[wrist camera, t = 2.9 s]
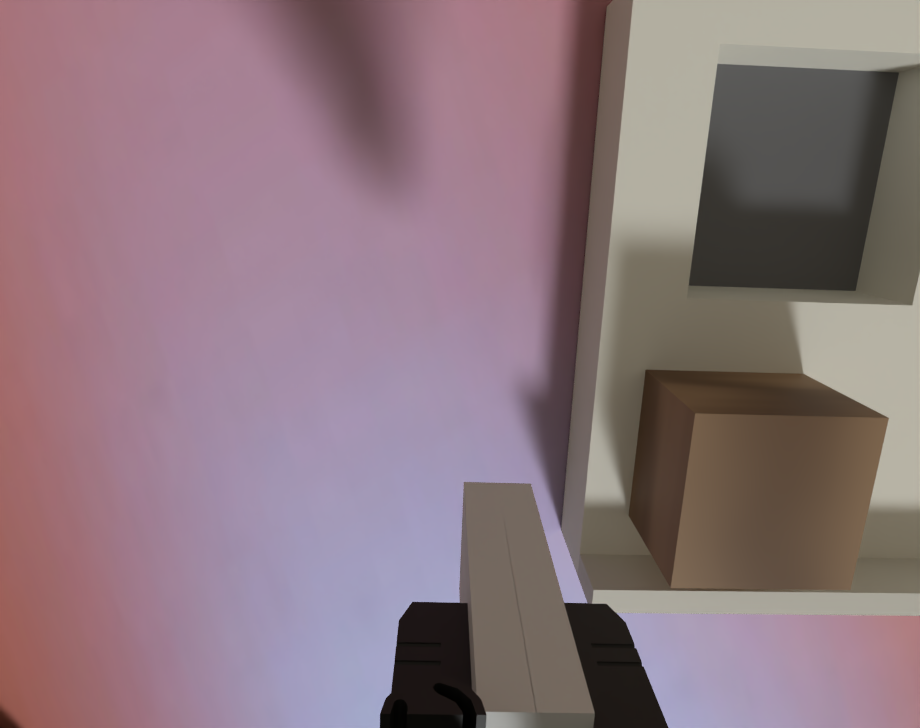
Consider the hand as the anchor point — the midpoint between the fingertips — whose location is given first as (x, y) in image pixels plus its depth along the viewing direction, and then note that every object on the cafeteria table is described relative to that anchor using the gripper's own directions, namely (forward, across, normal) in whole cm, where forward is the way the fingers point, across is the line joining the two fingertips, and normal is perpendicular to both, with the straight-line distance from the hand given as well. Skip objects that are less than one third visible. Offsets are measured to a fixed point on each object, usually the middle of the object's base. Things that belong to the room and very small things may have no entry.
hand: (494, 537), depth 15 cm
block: (+6, +8, 0) cm, 10 cm away
